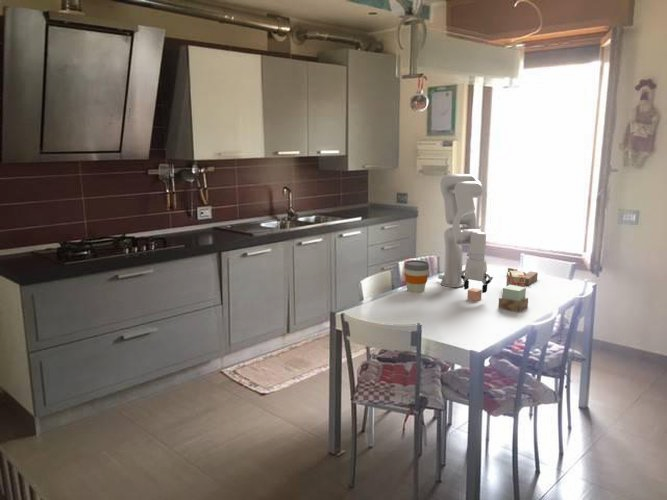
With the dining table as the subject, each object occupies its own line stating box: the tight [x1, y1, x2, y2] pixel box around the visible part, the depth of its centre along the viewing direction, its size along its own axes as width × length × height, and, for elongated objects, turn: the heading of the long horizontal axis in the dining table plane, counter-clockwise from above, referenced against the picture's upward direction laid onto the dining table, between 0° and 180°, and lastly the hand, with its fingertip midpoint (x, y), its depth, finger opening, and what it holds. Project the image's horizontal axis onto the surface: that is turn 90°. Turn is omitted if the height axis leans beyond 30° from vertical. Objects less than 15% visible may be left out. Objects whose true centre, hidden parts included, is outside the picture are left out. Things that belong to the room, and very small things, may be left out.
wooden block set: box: [507, 267, 539, 287], centre depth 309 cm, size 17×6×18 cm
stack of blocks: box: [505, 270, 526, 288], centre depth 280 cm, size 21×6×12 cm, turn 169°
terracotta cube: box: [467, 287, 483, 302], centre depth 272 cm, size 5×5×5 cm
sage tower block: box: [501, 285, 527, 302], centre depth 258 cm, size 8×8×5 cm
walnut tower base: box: [497, 296, 529, 313], centre depth 259 cm, size 10×10×5 cm
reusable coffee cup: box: [404, 259, 430, 294], centre depth 285 cm, size 13×13×15 cm
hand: (475, 290), depth 271 cm, fingers open, 9 cm apart
